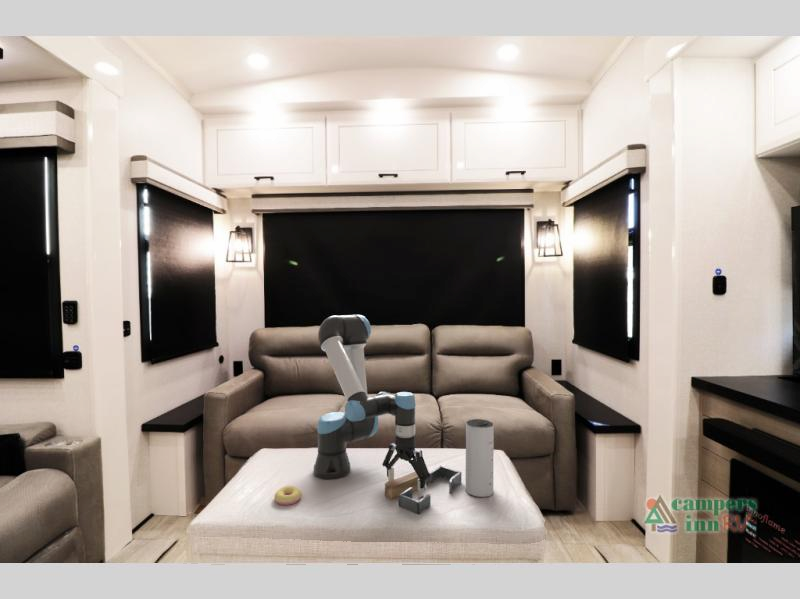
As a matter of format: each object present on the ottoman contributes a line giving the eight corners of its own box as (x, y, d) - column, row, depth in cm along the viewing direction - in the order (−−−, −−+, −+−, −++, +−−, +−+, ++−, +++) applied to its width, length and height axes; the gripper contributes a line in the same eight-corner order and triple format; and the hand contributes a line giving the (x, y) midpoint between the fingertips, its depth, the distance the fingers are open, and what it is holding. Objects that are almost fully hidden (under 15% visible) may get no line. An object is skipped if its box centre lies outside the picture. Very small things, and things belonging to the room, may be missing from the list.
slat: (384, 496, 149) (384, 482, 149) (417, 483, 160) (417, 470, 160) (391, 500, 146) (391, 487, 146) (424, 487, 157) (424, 474, 156)
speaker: (476, 481, 161) (476, 415, 160) (499, 490, 153) (499, 421, 152) (459, 490, 153) (460, 421, 152) (483, 501, 146) (483, 428, 145)
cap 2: (424, 484, 158) (424, 473, 158) (438, 474, 166) (438, 465, 166) (451, 493, 151) (451, 482, 151) (463, 482, 159) (463, 472, 159)
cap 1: (398, 506, 142) (398, 494, 142) (410, 498, 148) (410, 487, 148) (419, 514, 137) (419, 502, 137) (430, 505, 143) (430, 494, 142)
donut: (297, 497, 153) (272, 498, 149) (299, 484, 154) (273, 485, 150) (303, 505, 144) (276, 507, 140) (304, 491, 145) (277, 493, 141)
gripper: (373, 430, 157) (373, 485, 157) (427, 445, 142) (427, 505, 142) (385, 425, 163) (385, 477, 163) (439, 438, 148) (439, 496, 148)
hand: (405, 490), depth 153 cm, fingers open, 13 cm apart
